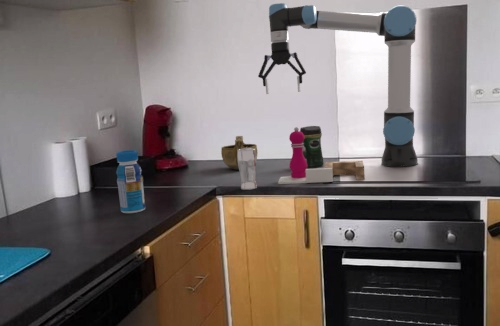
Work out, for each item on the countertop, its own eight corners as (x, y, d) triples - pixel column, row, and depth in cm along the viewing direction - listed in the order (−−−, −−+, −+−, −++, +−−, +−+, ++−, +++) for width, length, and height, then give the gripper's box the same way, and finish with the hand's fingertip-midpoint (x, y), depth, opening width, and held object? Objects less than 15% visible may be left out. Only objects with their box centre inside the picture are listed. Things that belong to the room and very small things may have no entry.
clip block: (362, 172, 202) (362, 160, 201) (364, 179, 188) (364, 166, 187) (325, 174, 204) (325, 162, 204) (325, 180, 191) (324, 168, 190)
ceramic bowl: (259, 171, 222) (256, 138, 220) (221, 174, 222) (219, 141, 220) (257, 163, 244) (255, 133, 242) (223, 166, 244) (221, 136, 242)
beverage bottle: (115, 213, 162) (108, 153, 159) (129, 207, 170) (123, 149, 167) (136, 214, 159) (130, 153, 156) (151, 207, 167) (144, 149, 164)
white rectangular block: (332, 180, 188) (332, 167, 188) (332, 181, 186) (332, 168, 186) (306, 181, 190) (305, 168, 189) (306, 182, 188) (305, 169, 187)
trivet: (308, 177, 199) (307, 175, 199) (306, 183, 189) (306, 181, 189) (281, 178, 201) (281, 176, 201) (277, 184, 191) (277, 182, 191)
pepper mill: (307, 174, 202) (305, 126, 199) (308, 177, 195) (305, 127, 192) (290, 175, 203) (287, 127, 200) (290, 178, 195) (287, 128, 193)
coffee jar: (318, 164, 230) (316, 124, 227) (325, 166, 223) (323, 125, 220) (299, 166, 227) (297, 126, 225) (306, 169, 220) (304, 127, 217)
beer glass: (260, 186, 189) (258, 147, 187) (253, 190, 183) (250, 150, 180) (244, 186, 192) (241, 148, 190) (236, 189, 186) (233, 150, 183)
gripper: (249, 44, 206) (253, 95, 210) (309, 38, 202) (312, 90, 205) (252, 45, 214) (256, 94, 217) (310, 40, 209) (312, 90, 212)
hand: (283, 92), depth 211 cm, fingers open, 13 cm apart
